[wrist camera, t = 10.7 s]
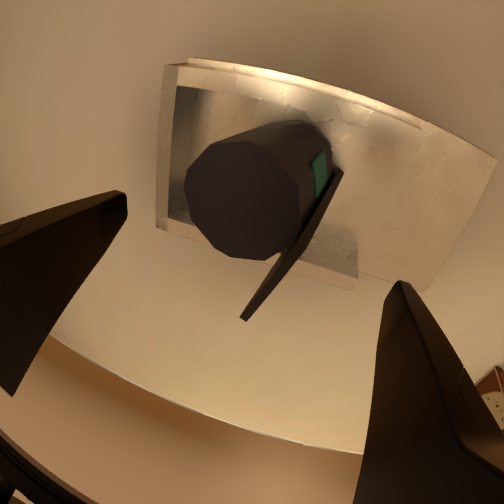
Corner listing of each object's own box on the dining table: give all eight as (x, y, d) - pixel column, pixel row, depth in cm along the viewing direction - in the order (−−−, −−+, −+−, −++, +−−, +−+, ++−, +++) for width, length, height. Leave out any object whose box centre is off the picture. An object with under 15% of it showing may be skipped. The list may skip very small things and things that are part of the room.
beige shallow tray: (495, 158, 15) (517, 176, 12) (422, 289, 23) (428, 319, 20) (191, 57, 17) (165, 59, 14) (176, 209, 25) (156, 231, 22)
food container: (472, 409, 31) (475, 468, 24) (445, 406, 32) (446, 469, 24) (527, 364, 24) (541, 430, 16) (502, 358, 24) (515, 431, 17)
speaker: (368, 190, 19) (355, 287, 11) (302, 228, 22) (249, 328, 14) (297, 97, 17) (223, 118, 9) (237, 147, 21) (141, 206, 13)
